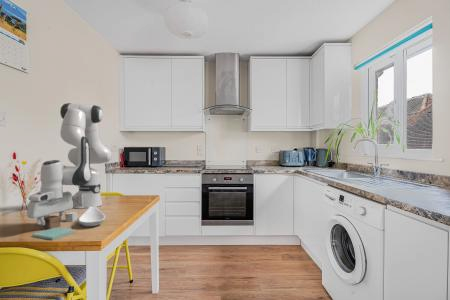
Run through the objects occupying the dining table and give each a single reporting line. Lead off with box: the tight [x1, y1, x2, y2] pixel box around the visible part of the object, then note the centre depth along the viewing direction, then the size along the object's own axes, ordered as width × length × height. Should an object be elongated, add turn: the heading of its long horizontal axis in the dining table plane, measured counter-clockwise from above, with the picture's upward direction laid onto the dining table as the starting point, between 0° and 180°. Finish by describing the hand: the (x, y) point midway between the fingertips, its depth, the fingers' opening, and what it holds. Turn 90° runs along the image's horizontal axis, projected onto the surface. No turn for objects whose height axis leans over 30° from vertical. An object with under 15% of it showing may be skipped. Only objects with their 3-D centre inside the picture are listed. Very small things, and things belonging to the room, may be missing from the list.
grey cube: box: [64, 211, 79, 223], centre depth 133 cm, size 4×4×4 cm
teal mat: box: [32, 227, 75, 241], centre depth 111 cm, size 12×10×1 cm
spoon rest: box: [78, 206, 106, 228], centre depth 130 cm, size 24×12×7 cm, turn 27°
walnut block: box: [42, 214, 62, 230], centre depth 121 cm, size 5×5×5 cm
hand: (51, 222), depth 121 cm, fingers open, 6 cm apart
